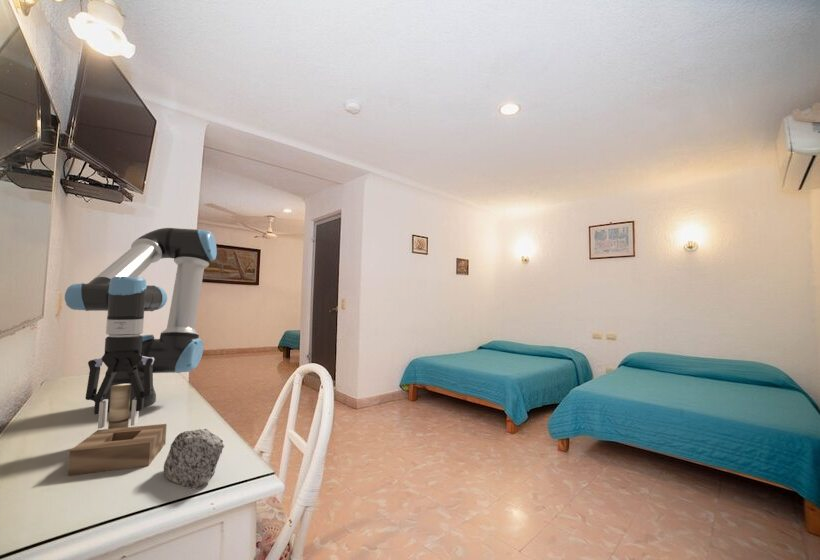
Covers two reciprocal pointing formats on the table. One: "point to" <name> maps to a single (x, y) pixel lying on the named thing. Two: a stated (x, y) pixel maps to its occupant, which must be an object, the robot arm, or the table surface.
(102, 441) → the board
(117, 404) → the peg
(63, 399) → the table surface
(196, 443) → the rock
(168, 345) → the robot arm
